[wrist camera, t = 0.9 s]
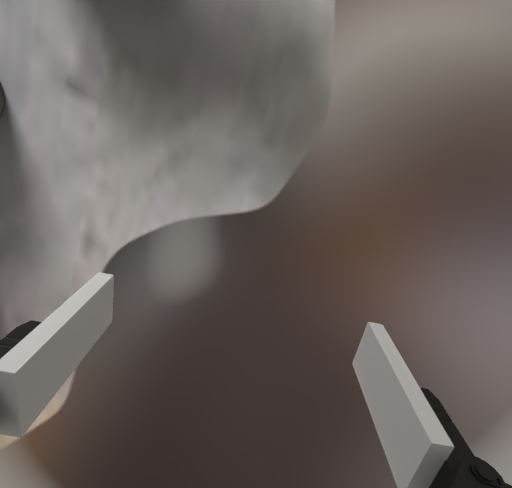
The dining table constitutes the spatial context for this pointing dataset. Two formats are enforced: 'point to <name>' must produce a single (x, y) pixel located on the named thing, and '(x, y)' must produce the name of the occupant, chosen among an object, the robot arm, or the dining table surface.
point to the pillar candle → (1, 100)
